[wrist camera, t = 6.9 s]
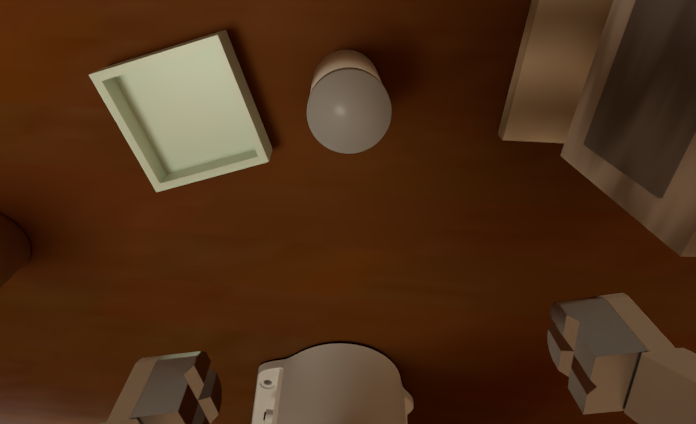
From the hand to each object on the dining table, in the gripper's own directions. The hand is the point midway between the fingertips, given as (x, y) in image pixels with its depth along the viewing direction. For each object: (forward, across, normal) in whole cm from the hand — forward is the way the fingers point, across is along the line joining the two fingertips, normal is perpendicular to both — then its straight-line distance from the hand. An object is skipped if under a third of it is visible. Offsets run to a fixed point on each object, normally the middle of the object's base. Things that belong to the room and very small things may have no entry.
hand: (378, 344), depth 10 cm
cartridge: (+25, 0, 0) cm, 25 cm away
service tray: (+25, +12, 0) cm, 28 cm away
